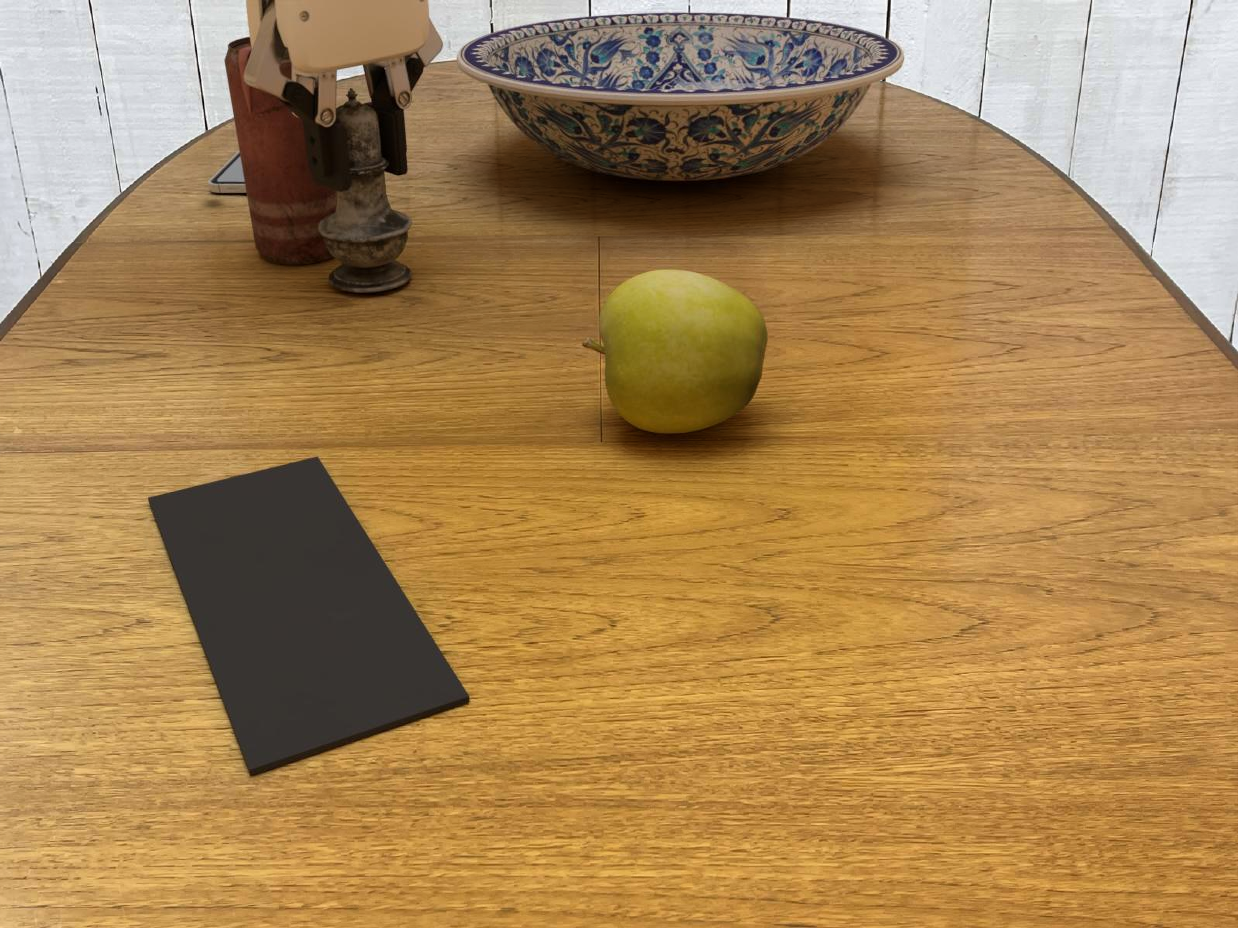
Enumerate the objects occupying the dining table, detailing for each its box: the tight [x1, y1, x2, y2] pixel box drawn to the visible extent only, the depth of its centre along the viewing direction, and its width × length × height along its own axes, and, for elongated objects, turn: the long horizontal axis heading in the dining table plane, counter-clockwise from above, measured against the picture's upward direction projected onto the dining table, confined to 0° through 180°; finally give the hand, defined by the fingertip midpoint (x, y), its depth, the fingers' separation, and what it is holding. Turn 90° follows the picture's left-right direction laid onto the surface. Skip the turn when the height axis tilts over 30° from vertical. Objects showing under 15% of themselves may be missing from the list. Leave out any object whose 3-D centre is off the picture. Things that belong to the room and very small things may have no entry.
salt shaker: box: [318, 87, 413, 293], centre depth 78 cm, size 6×6×12 cm
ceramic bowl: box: [456, 12, 905, 182], centre depth 99 cm, size 34×34×10 cm
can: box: [224, 36, 337, 266], centre depth 83 cm, size 6×6×14 cm
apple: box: [581, 269, 769, 434], centre depth 62 cm, size 8×9×8 cm
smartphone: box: [208, 150, 247, 194], centre depth 103 cm, size 7×1×15 cm
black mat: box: [147, 456, 471, 777], centre depth 52 cm, size 8×20×1 cm, turn 27°
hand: (360, 175), depth 78 cm, fingers closed on salt shaker, 3 cm apart
